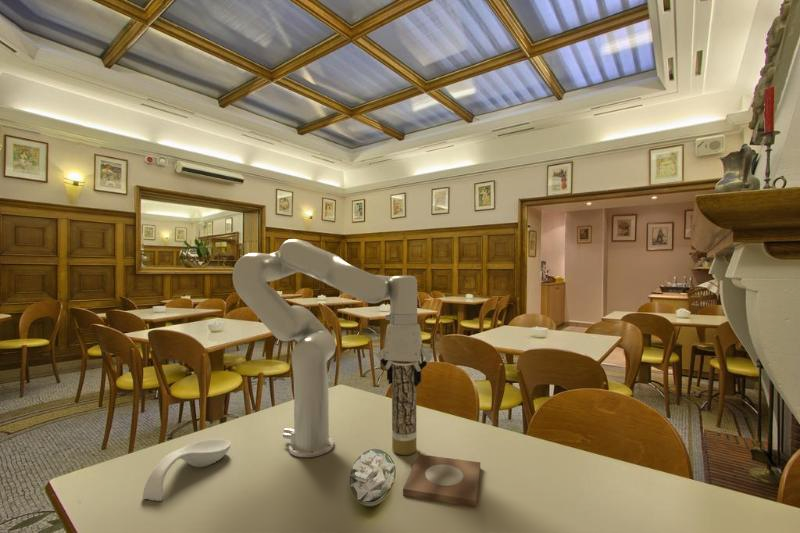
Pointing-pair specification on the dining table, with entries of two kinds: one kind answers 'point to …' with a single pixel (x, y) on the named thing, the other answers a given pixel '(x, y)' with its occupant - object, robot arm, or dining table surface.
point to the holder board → (444, 480)
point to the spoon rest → (192, 454)
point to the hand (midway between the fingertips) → (404, 383)
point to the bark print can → (403, 408)
